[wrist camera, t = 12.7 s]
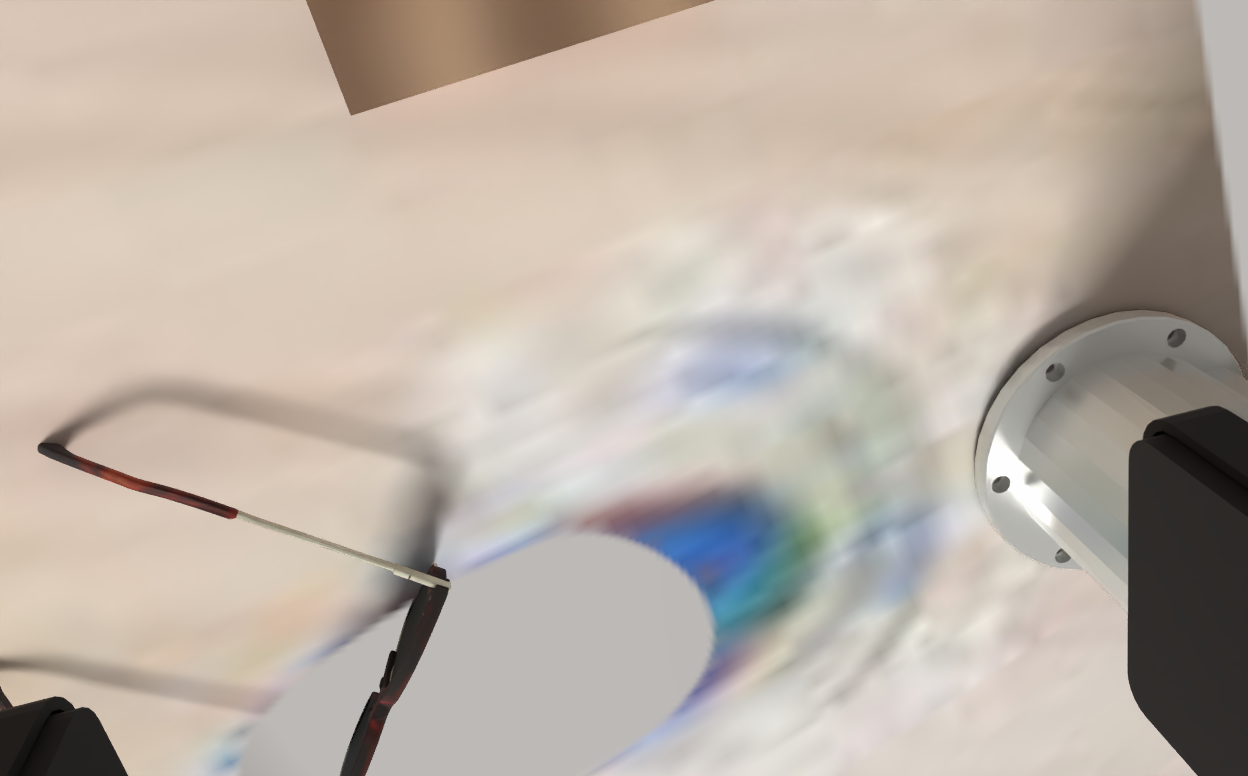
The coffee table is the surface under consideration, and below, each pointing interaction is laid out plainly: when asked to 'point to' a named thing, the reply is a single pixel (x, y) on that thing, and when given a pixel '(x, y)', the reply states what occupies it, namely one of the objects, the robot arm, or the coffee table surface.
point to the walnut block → (457, 38)
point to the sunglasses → (433, 583)
